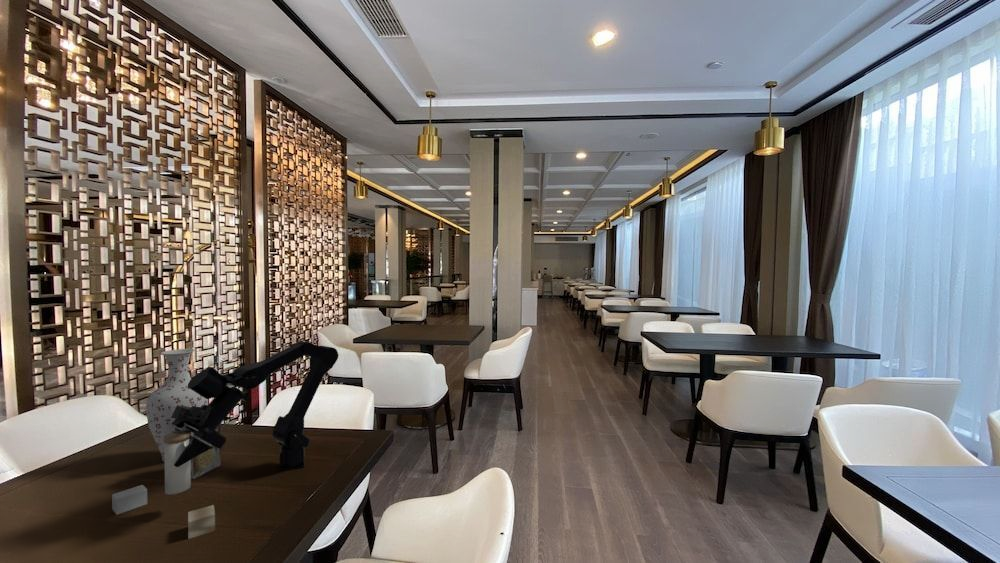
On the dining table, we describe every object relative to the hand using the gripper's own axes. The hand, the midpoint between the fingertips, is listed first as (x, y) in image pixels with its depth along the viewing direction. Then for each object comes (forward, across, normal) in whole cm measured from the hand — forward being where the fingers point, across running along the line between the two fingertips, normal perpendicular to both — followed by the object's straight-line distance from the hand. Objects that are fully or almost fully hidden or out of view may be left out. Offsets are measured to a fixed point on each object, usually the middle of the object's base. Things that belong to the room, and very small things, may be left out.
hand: (171, 463), depth 102 cm
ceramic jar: (+4, 0, +6) cm, 7 cm away
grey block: (+12, -13, +6) cm, 19 cm away
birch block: (+8, +13, +10) cm, 19 cm away
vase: (-1, -37, +19) cm, 42 cm away
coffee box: (0, -20, +19) cm, 27 cm away
